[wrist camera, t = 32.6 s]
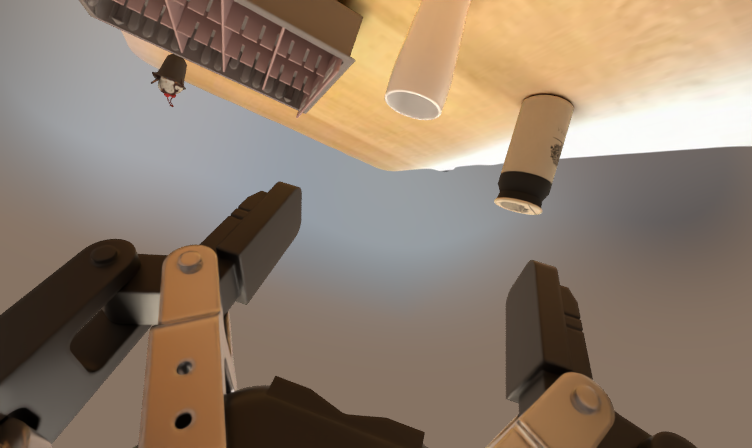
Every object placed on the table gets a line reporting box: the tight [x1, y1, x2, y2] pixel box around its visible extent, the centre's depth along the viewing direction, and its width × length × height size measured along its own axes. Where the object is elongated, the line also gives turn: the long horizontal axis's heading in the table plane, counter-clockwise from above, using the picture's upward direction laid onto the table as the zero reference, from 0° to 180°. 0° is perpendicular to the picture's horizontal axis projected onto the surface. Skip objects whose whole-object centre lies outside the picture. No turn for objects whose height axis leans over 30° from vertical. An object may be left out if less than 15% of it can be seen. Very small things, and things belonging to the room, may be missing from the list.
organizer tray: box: [79, 0, 363, 118], centre depth 54 cm, size 32×40×10 cm
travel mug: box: [494, 95, 574, 215], centre depth 57 cm, size 8×8×18 cm
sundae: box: [151, 54, 187, 107], centre depth 78 cm, size 7×7×15 cm
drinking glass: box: [385, 0, 471, 120], centre depth 39 cm, size 7×7×15 cm
